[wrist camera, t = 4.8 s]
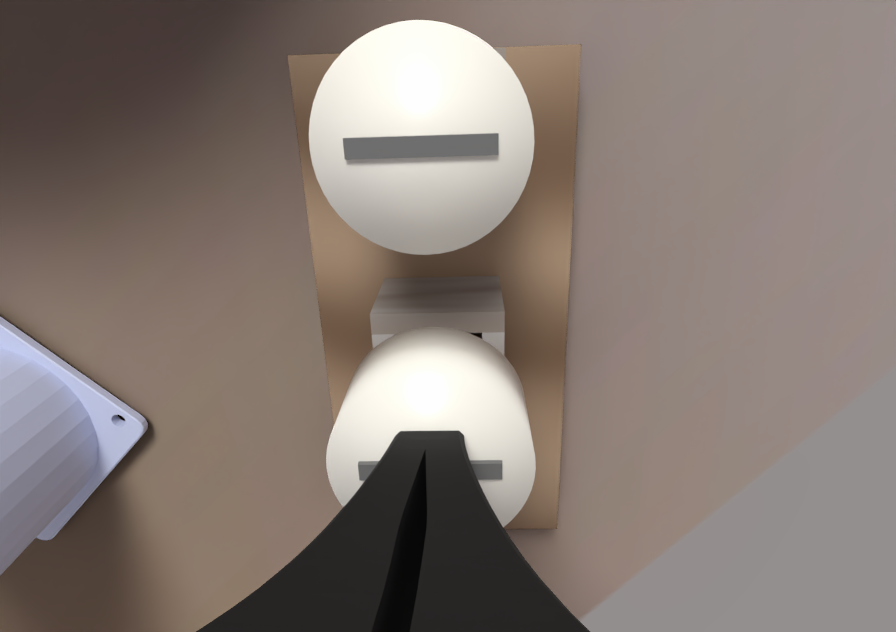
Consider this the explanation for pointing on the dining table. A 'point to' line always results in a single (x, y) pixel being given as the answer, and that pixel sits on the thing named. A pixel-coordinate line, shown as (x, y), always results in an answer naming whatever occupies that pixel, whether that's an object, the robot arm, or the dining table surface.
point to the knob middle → (437, 412)
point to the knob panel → (465, 266)
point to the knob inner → (421, 137)
